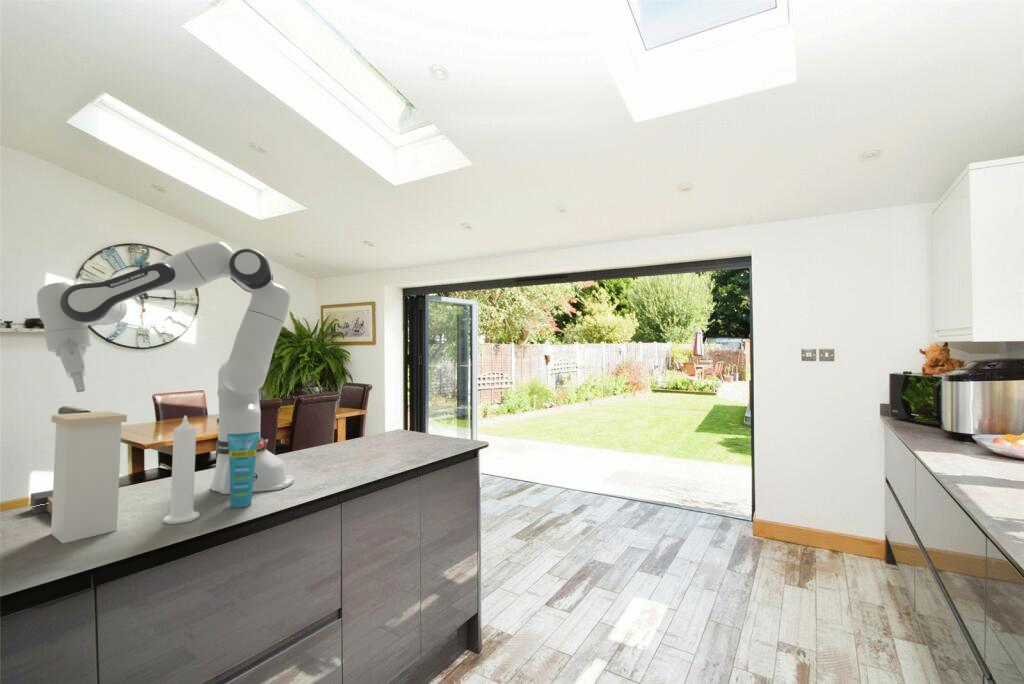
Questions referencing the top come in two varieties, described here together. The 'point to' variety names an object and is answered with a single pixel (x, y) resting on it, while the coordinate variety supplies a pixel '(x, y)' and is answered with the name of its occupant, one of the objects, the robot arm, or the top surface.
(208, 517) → the top surface
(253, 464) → the tube
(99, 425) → the shelf post
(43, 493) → the mallet
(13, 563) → the top surface
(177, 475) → the candle
